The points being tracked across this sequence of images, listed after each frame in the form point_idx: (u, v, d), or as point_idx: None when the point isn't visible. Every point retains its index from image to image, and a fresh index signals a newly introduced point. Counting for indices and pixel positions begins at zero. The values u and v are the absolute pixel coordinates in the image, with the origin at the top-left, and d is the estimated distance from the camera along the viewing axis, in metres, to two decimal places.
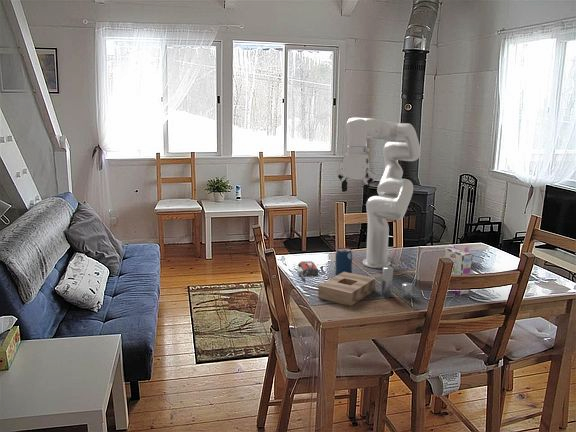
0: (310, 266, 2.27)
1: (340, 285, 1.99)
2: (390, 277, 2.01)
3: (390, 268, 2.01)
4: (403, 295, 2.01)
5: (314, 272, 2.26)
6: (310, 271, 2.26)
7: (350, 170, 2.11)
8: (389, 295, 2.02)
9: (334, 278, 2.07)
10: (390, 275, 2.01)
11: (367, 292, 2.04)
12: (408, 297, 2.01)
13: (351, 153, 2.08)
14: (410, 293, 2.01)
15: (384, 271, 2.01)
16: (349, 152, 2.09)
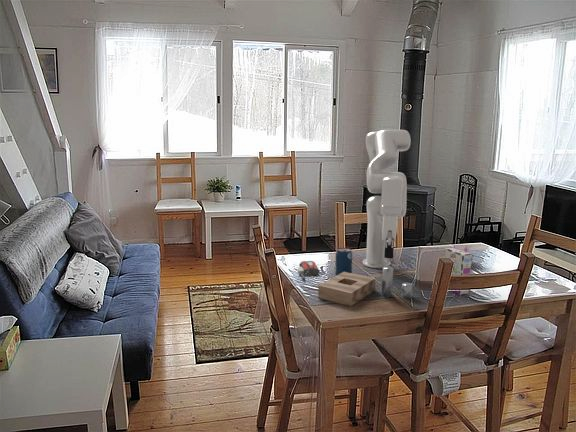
0: (311, 266, 2.27)
1: (340, 285, 1.99)
2: (390, 277, 2.01)
3: (390, 268, 2.01)
4: (403, 295, 2.01)
5: (314, 272, 2.26)
6: (310, 271, 2.26)
7: (396, 231, 1.97)
8: (389, 295, 2.02)
9: (334, 278, 2.07)
10: (390, 275, 2.01)
11: (367, 292, 2.04)
12: (408, 297, 2.01)
13: (401, 213, 1.96)
14: (410, 293, 2.01)
15: (384, 271, 2.01)
16: (400, 213, 1.95)
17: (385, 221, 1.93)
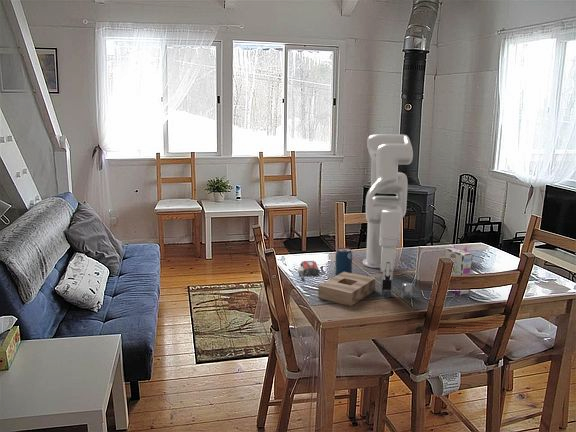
0: (311, 266, 2.27)
1: (340, 285, 1.99)
2: None
3: None
4: (403, 295, 2.01)
5: (314, 272, 2.26)
6: (310, 271, 2.26)
7: None
8: (389, 295, 2.02)
9: (334, 278, 2.07)
10: None
11: (367, 292, 2.04)
12: (408, 297, 2.01)
13: None
14: (410, 293, 2.01)
15: None
16: (398, 244, 1.98)
17: (383, 253, 1.96)
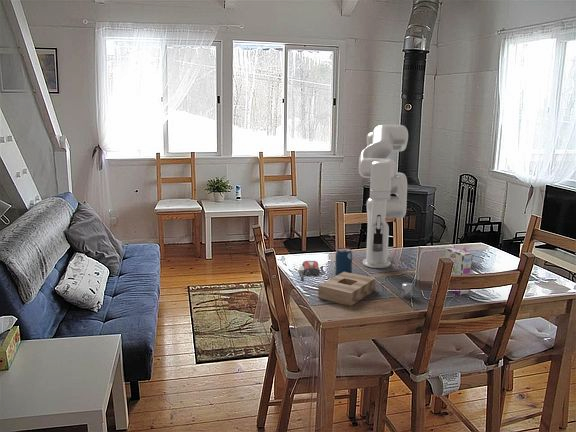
0: (311, 265, 2.27)
1: (340, 285, 1.99)
2: None
3: None
4: (403, 295, 2.01)
5: (314, 272, 2.26)
6: (311, 270, 2.27)
7: (385, 216, 1.96)
8: (380, 250, 1.99)
9: (334, 278, 2.07)
10: None
11: (367, 292, 2.04)
12: (408, 297, 2.01)
13: (390, 197, 1.95)
14: (410, 293, 2.01)
15: None
16: (389, 197, 1.94)
17: (374, 205, 1.92)
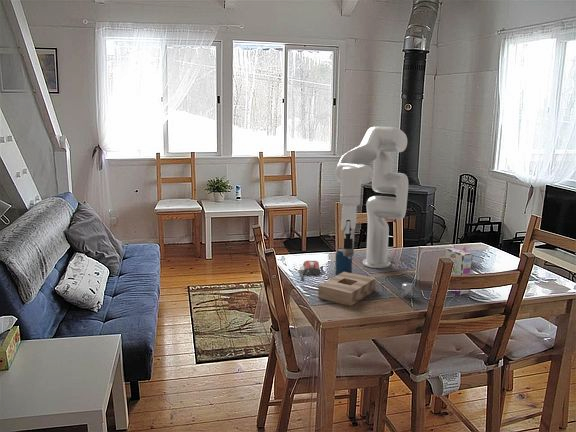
0: (312, 265, 2.27)
1: (340, 285, 1.99)
2: None
3: None
4: (403, 295, 2.01)
5: (315, 272, 2.26)
6: (311, 270, 2.27)
7: (355, 221, 1.97)
8: (350, 255, 1.99)
9: (334, 278, 2.07)
10: None
11: (367, 292, 2.04)
12: (408, 297, 2.01)
13: None
14: (410, 293, 2.01)
15: None
16: (359, 202, 1.95)
17: (343, 210, 1.93)
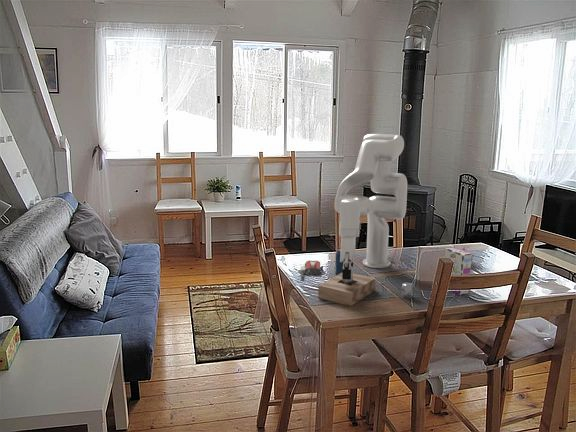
0: (312, 265, 2.28)
1: (340, 285, 1.99)
2: None
3: None
4: (403, 295, 2.01)
5: (315, 272, 2.26)
6: (312, 270, 2.27)
7: (354, 253, 2.00)
8: None
9: (334, 278, 2.07)
10: None
11: (367, 292, 2.04)
12: (408, 297, 2.01)
13: (358, 235, 1.99)
14: (410, 293, 2.01)
15: None
16: (358, 234, 1.98)
17: (342, 243, 1.96)
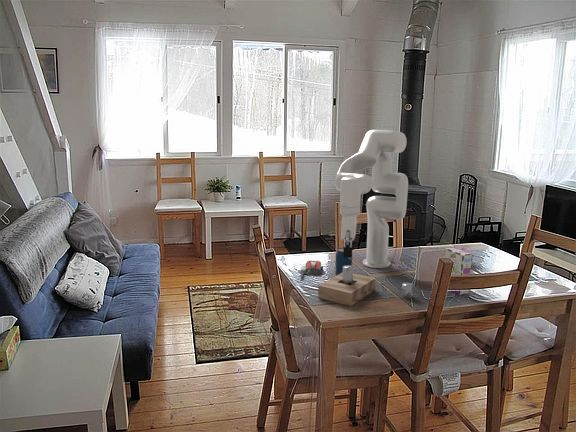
0: (313, 265, 2.28)
1: (340, 285, 1.99)
2: (350, 276, 2.02)
3: (350, 267, 2.02)
4: (403, 295, 2.01)
5: (316, 272, 2.26)
6: (312, 270, 2.27)
7: (355, 231, 1.98)
8: None
9: (334, 278, 2.07)
10: (350, 274, 2.01)
11: (367, 292, 2.04)
12: (408, 297, 2.01)
13: (359, 212, 1.97)
14: (410, 293, 2.01)
15: (344, 270, 2.02)
16: (358, 212, 1.96)
17: (343, 221, 1.95)
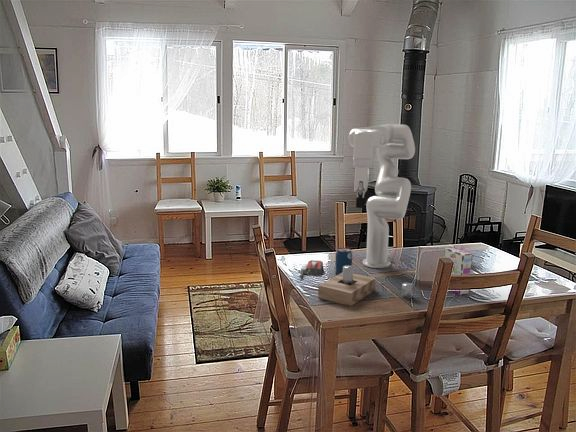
0: (313, 265, 2.28)
1: (340, 285, 1.99)
2: (350, 276, 2.02)
3: (350, 267, 2.02)
4: (403, 295, 2.01)
5: (316, 271, 2.26)
6: (312, 270, 2.27)
7: (367, 183, 2.08)
8: None
9: (334, 278, 2.07)
10: (350, 274, 2.01)
11: (367, 292, 2.04)
12: (408, 297, 2.01)
13: None
14: (410, 293, 2.01)
15: (344, 270, 2.02)
16: (371, 165, 2.06)
17: (356, 172, 2.05)
